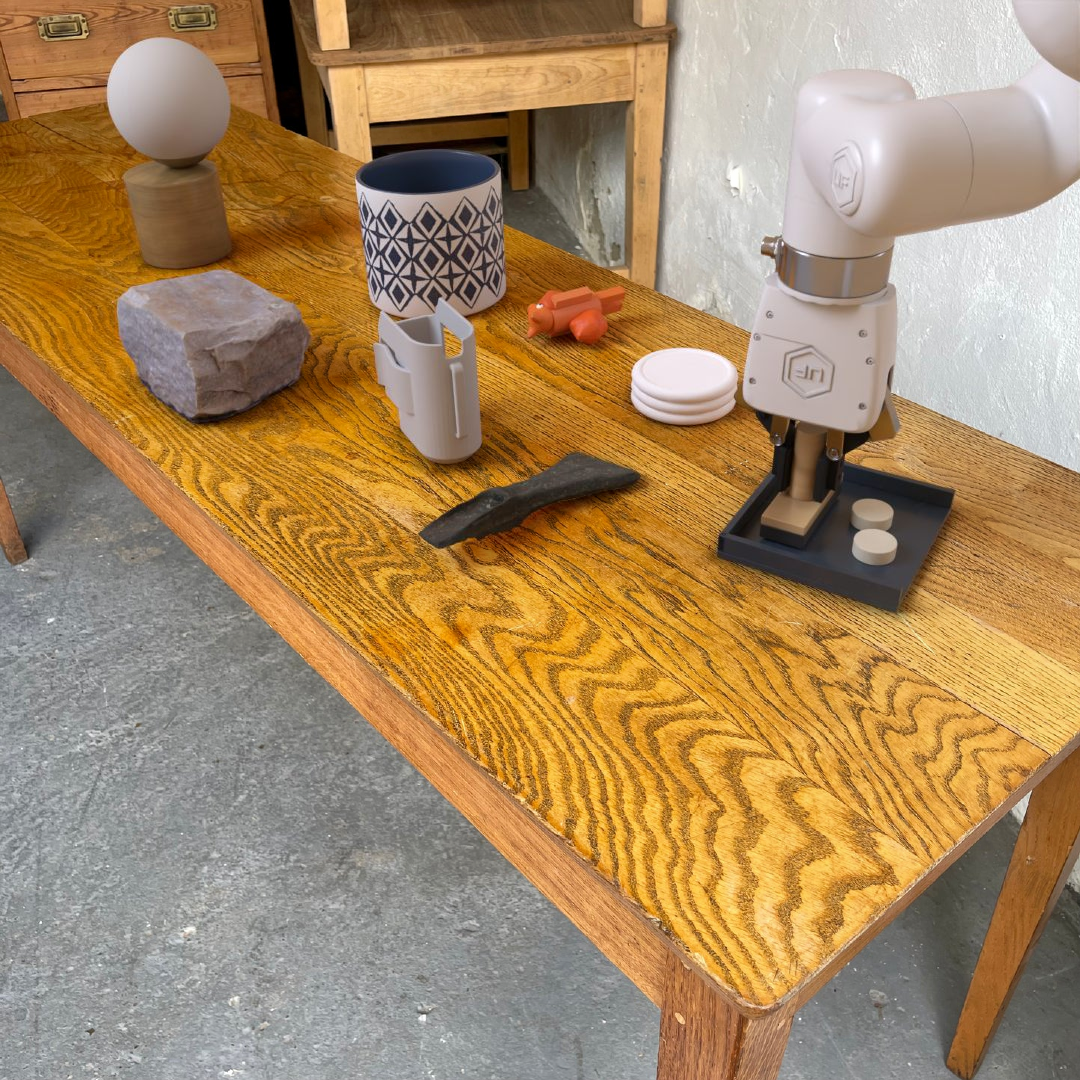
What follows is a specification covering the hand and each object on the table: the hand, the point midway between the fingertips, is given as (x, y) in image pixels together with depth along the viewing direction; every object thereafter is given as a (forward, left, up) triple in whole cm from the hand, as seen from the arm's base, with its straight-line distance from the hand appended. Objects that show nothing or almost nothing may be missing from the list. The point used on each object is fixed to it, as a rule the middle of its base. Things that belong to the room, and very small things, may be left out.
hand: (804, 487), depth 87 cm
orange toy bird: (+33, -22, -4) cm, 40 cm away
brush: (0, 0, -3) cm, 3 cm away
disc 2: (-6, +2, -3) cm, 7 cm away
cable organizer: (+34, +3, -4) cm, 34 cm away
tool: (+21, +9, -4) cm, 23 cm away
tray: (-3, 0, -3) cm, 5 cm away
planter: (+53, -24, -4) cm, 58 cm away
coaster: (+17, -14, -4) cm, 22 cm away
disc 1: (-5, -2, -3) cm, 6 cm away
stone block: (+59, +4, -4) cm, 59 cm away
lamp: (+90, -22, -4) cm, 93 cm away
